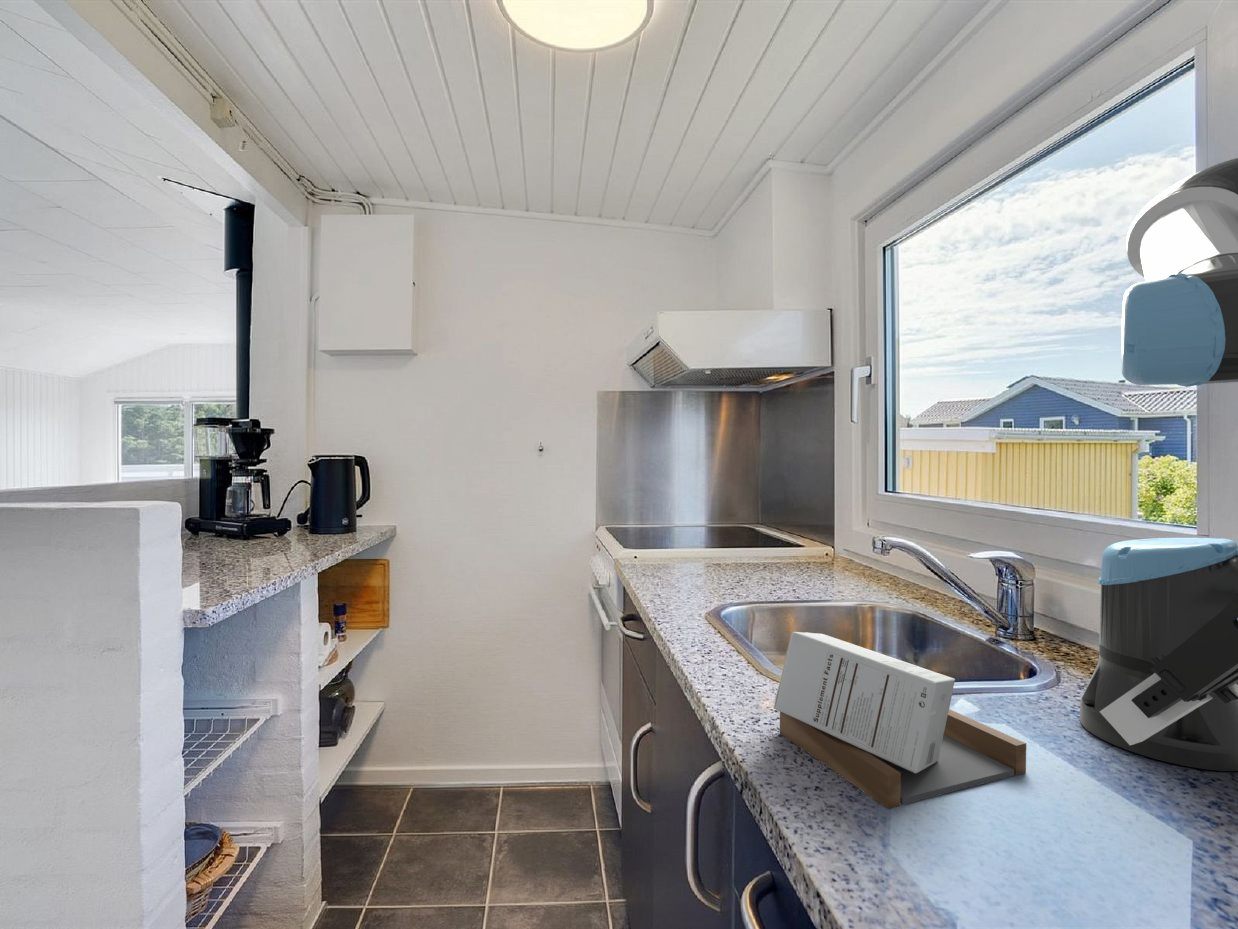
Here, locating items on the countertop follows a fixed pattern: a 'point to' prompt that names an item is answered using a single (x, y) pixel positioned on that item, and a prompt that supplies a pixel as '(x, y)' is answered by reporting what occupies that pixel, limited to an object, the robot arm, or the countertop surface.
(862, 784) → the rails
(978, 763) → the mat
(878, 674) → the supplement box
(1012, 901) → the countertop surface
